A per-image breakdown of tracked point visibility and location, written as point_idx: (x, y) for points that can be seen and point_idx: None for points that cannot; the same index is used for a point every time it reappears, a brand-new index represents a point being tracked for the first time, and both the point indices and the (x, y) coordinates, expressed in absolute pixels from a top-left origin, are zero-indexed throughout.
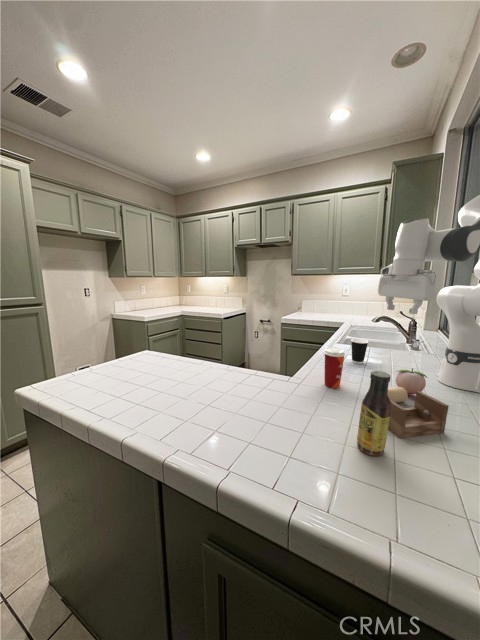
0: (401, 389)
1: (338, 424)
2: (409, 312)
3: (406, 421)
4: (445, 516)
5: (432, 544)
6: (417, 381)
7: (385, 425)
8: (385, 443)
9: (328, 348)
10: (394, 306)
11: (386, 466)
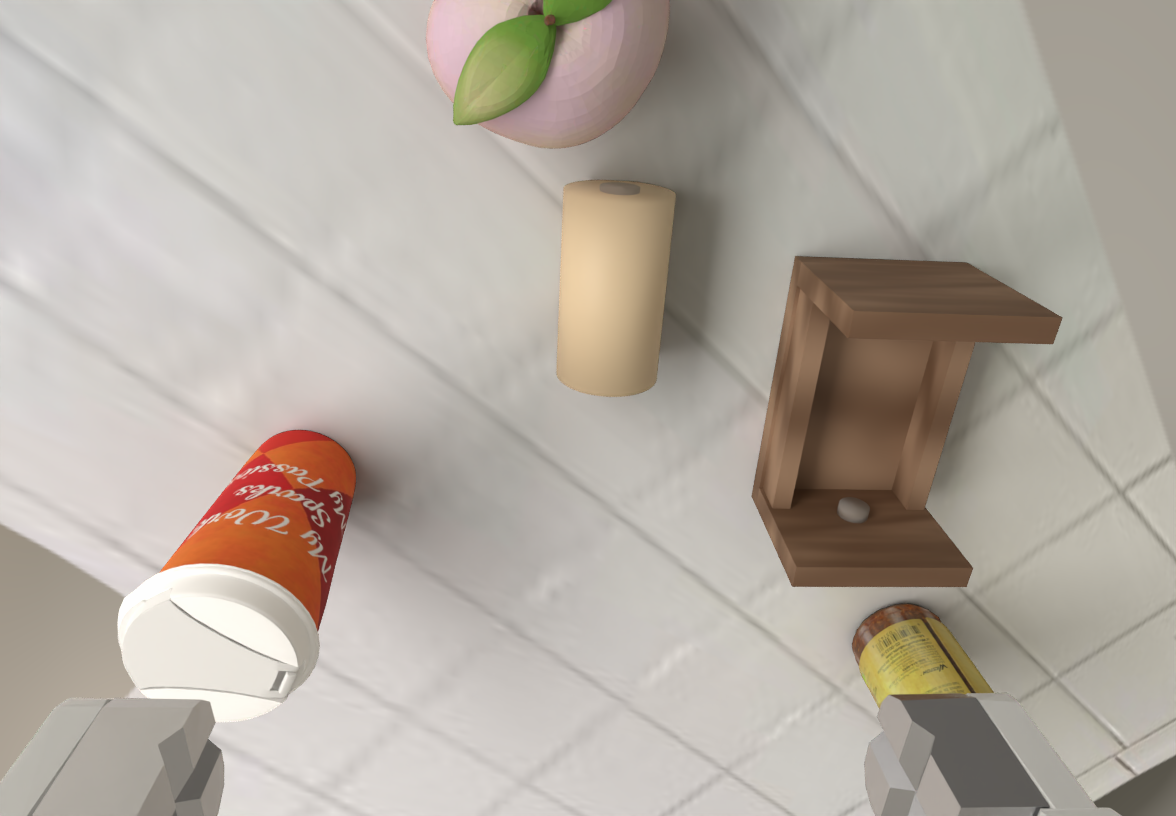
0: (645, 236)
1: (721, 649)
2: (880, 798)
3: (843, 396)
4: (1162, 625)
5: (1172, 697)
6: (652, 66)
7: None
8: (961, 647)
9: (139, 681)
10: (158, 793)
11: (976, 637)
